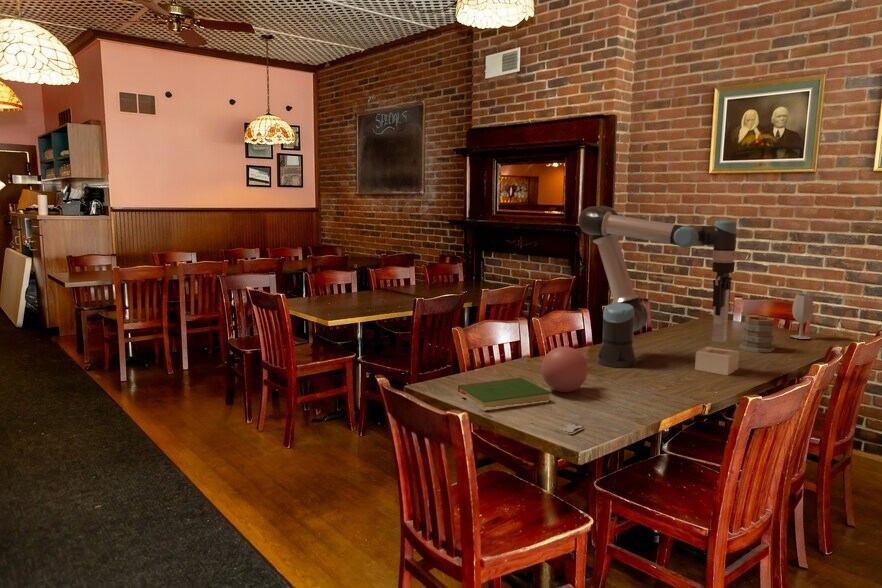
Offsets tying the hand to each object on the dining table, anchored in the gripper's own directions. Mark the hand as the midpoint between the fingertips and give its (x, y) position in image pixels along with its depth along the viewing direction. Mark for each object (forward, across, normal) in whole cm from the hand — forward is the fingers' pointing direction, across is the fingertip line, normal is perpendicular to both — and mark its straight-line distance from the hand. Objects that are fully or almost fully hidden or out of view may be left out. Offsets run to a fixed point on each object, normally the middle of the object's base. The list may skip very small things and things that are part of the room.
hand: (720, 322), depth 237 cm
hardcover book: (+19, -85, +40) cm, 96 cm away
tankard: (+19, +49, +1) cm, 52 cm away
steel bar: (+7, 0, 0) cm, 7 cm away
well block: (+18, 0, 0) cm, 18 cm away
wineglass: (+19, +84, -10) cm, 87 cm away
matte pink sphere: (+18, -62, +28) cm, 71 cm away
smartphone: (+19, -95, +13) cm, 98 cm away
